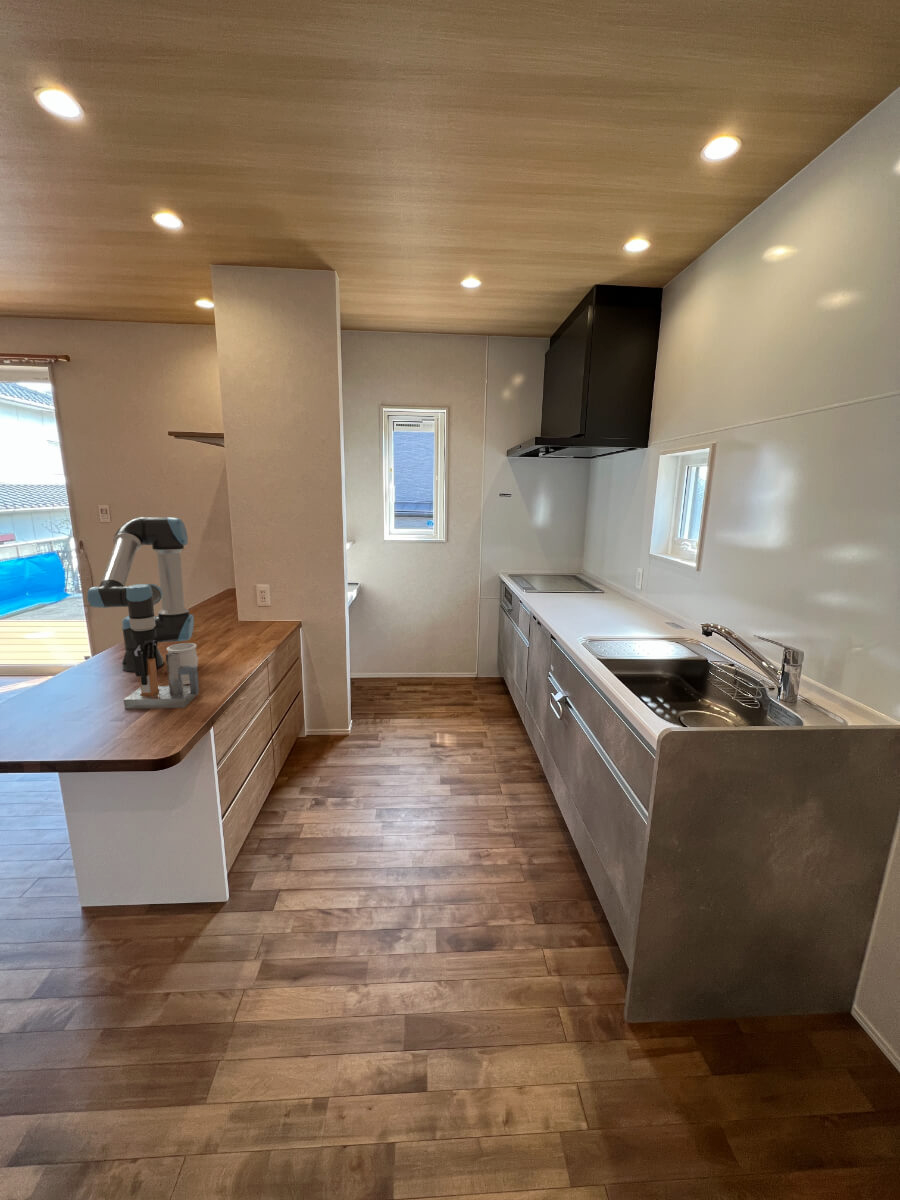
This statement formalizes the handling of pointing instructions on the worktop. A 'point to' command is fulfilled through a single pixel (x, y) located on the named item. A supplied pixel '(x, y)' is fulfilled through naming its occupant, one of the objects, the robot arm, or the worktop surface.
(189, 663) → the jar
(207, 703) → the worktop surface
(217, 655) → the worktop surface
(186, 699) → the plate with square hole
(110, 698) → the worktop surface
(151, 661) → the orange square bar
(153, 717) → the worktop surface
